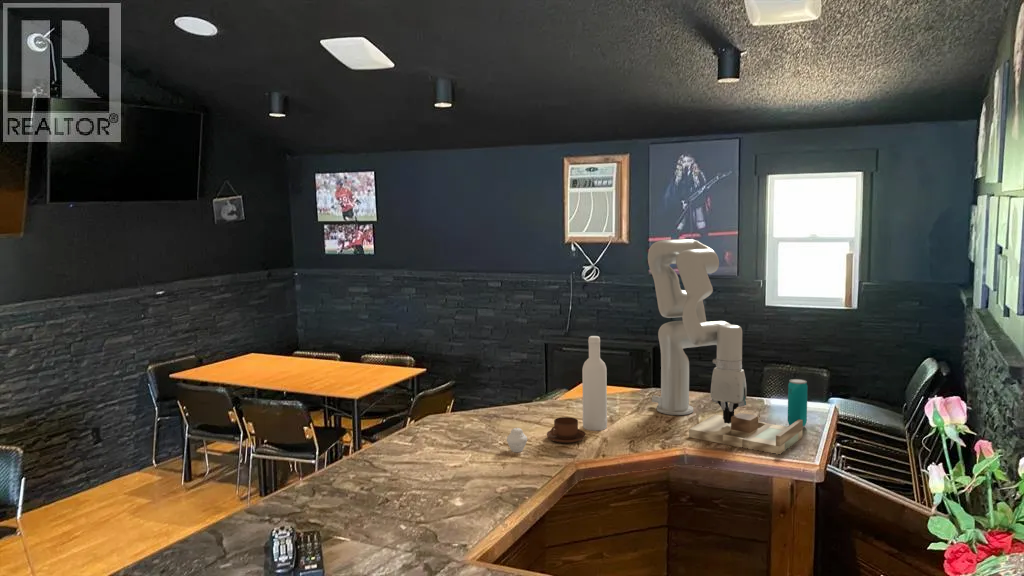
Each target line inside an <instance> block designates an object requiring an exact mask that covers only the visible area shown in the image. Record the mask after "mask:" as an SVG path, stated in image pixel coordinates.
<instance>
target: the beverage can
mask: <svg viewBox="0 0 1024 576" xmlns="http://www.w3.org/2000/svg"><path fill="white" fill-rule="evenodd" d="M807 383H808V381H807V380H806V379H800V378H793V379H789V382H788V385H787V389H788V390H787V423H788V427H789V426H790V425H791V424H793V423H794V422H796V421H797V420H798V419H800V420H803V429H804V428H805V427H806V424H807V421H808V420H807V419H808V390H809V389H808V387H809V386H808V384H807Z"/></svg>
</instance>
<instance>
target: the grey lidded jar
mask: <svg viewBox="0 0 1024 576" xmlns="http://www.w3.org/2000/svg"><path fill="white" fill-rule="evenodd" d="M523 431H524V430H523V429H522V428H520V427H515V428H512V429H511V430H510V433H509V435H507V436H506V442H507V445H508V446H509V448H510V451H511V452H512V453H521V452H523V450H524V448H525V447H526V445H527V442H528V437H527V435H526V434H525V432H523Z"/></svg>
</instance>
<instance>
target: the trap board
mask: <svg viewBox="0 0 1024 576" xmlns="http://www.w3.org/2000/svg"><path fill="white" fill-rule="evenodd" d="M803 429H804V428H803V420H800V419H798V420H797V421H796V422H794V423H793V424H791V425H790V426H789V425H788V426H785V425H779V424H772V423H768V422H763V421H758V429H756V430H755V431H753V432H751V433H746V432H741V431H736V430H731V423H730V424H728V423H724V419H723V414H716V413H715V414H714V415H711V416H710V417H708V418H706V419H704V420H703V421H701V422H700V423H697V424H695V425H693V426H691V427H690V428H688V438H693V439H696V440H702V441H707V442H712V443H717V444H722V445H728V446H731V447H732V446H733V447H737V448H742V447H743V448H742V449H747V448H748V450H752V449H754V450H753V451H757V450H759V452H762V451H764V452H763V453H767V452H771V453H770V454H772V453H776V454H775V455H778V454H780V455H781V453H782V452H783V451H784V452H786V451H787V450H788V449H789V448H791V447H793V445H794V444H796V443H797V442H798V441H800V440H801V439H802V438H803ZM790 446H791V447H790ZM787 448H788V449H787ZM786 449H787V450H786ZM784 452H783V453H784ZM783 453H782V454H783Z"/></svg>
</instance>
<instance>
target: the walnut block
mask: <svg viewBox="0 0 1024 576" xmlns="http://www.w3.org/2000/svg"><path fill="white" fill-rule="evenodd" d="M758 422H759V416H758V415H755V414H749V413H744V412H738V413H735V414H734V416H732V417H731V430H736V431H741V432H746V433H751V432H753V431H755V430H756V429H758Z"/></svg>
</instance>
